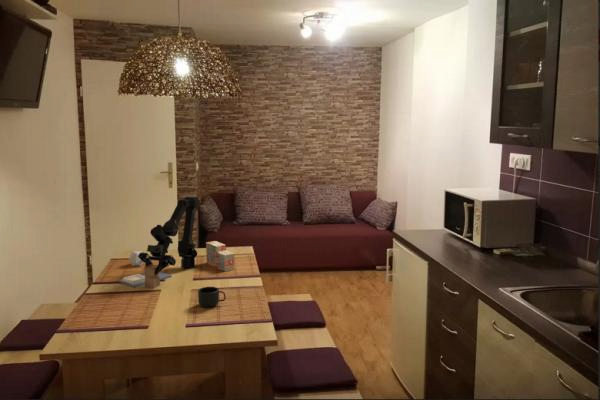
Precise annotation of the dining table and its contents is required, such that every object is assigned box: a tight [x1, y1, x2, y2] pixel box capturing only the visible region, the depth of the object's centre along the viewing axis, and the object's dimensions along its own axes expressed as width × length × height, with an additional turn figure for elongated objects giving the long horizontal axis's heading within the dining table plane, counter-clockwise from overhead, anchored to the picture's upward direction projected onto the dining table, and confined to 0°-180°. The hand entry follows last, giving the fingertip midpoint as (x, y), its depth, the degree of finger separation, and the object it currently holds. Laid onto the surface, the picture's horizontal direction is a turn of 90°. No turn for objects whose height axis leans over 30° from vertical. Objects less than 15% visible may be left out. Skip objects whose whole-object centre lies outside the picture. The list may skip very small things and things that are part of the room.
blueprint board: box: [118, 271, 173, 288], centre depth 260 cm, size 22×14×2 cm, turn 141°
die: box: [128, 250, 144, 267], centre depth 284 cm, size 8×9×10 cm
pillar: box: [143, 264, 161, 289], centre depth 249 cm, size 5×5×10 cm
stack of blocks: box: [205, 240, 235, 273], centre depth 283 cm, size 21×6×12 cm, turn 37°
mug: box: [197, 286, 227, 308], centre depth 224 cm, size 12×9×7 cm
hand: (150, 273), depth 247 cm, fingers closed on pillar, 5 cm apart
